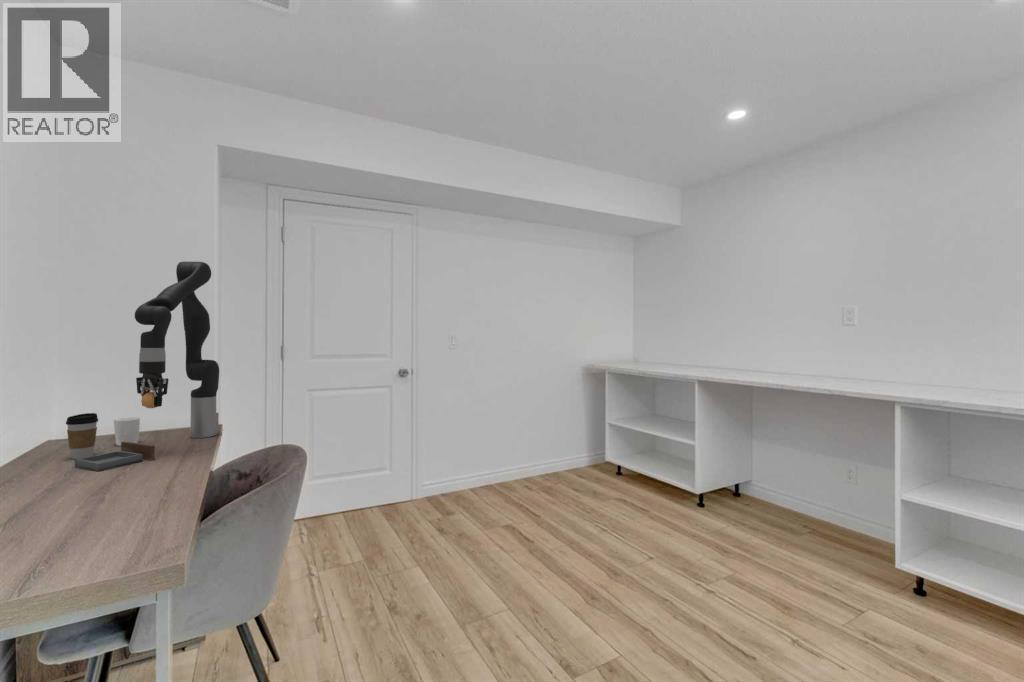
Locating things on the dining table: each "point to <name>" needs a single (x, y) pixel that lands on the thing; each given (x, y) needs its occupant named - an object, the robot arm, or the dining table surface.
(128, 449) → the fence
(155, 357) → the robot arm
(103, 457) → the tray
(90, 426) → the coffee cup
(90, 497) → the dining table surface
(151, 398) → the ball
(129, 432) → the white cup
